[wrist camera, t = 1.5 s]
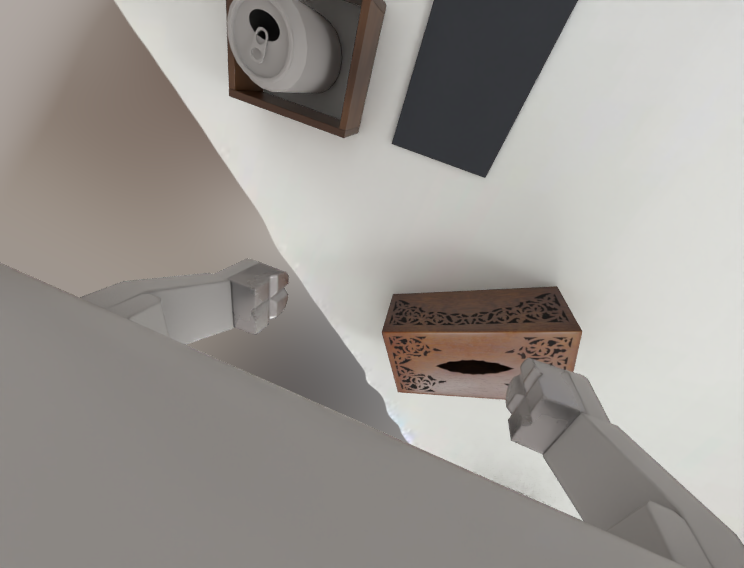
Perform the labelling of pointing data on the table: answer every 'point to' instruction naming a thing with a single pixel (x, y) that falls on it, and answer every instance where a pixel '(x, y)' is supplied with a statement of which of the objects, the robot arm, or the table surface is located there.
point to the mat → (476, 76)
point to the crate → (356, 85)
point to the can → (284, 45)
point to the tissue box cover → (476, 339)
